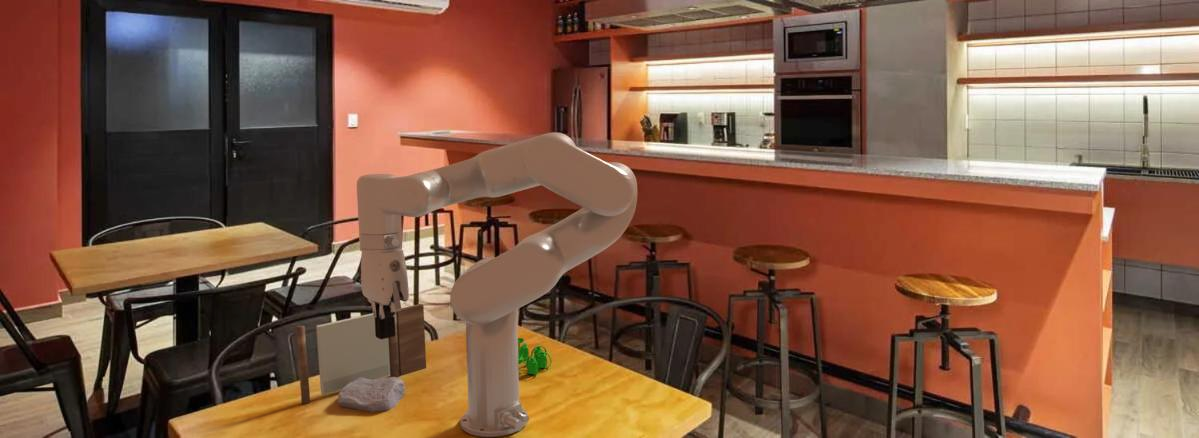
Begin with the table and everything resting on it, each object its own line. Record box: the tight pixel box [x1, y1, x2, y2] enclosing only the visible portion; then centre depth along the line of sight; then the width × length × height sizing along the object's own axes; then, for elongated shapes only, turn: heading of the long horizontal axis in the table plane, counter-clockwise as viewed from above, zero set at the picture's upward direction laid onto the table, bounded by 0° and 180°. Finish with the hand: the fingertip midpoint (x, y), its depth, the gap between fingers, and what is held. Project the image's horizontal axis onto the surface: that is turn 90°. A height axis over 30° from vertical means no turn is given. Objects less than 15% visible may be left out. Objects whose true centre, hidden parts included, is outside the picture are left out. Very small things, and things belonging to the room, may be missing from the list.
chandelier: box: [518, 337, 552, 377], centre depth 158 cm, size 15×15×7 cm
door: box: [315, 312, 390, 395], centre depth 146 cm, size 15×1×14 cm, turn 135°
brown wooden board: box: [295, 303, 427, 405], centre depth 148 cm, size 2×28×16 cm, turn 135°
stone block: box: [337, 376, 406, 413], centre depth 140 cm, size 12×5×10 cm
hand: (385, 336), depth 129 cm, fingers closed
